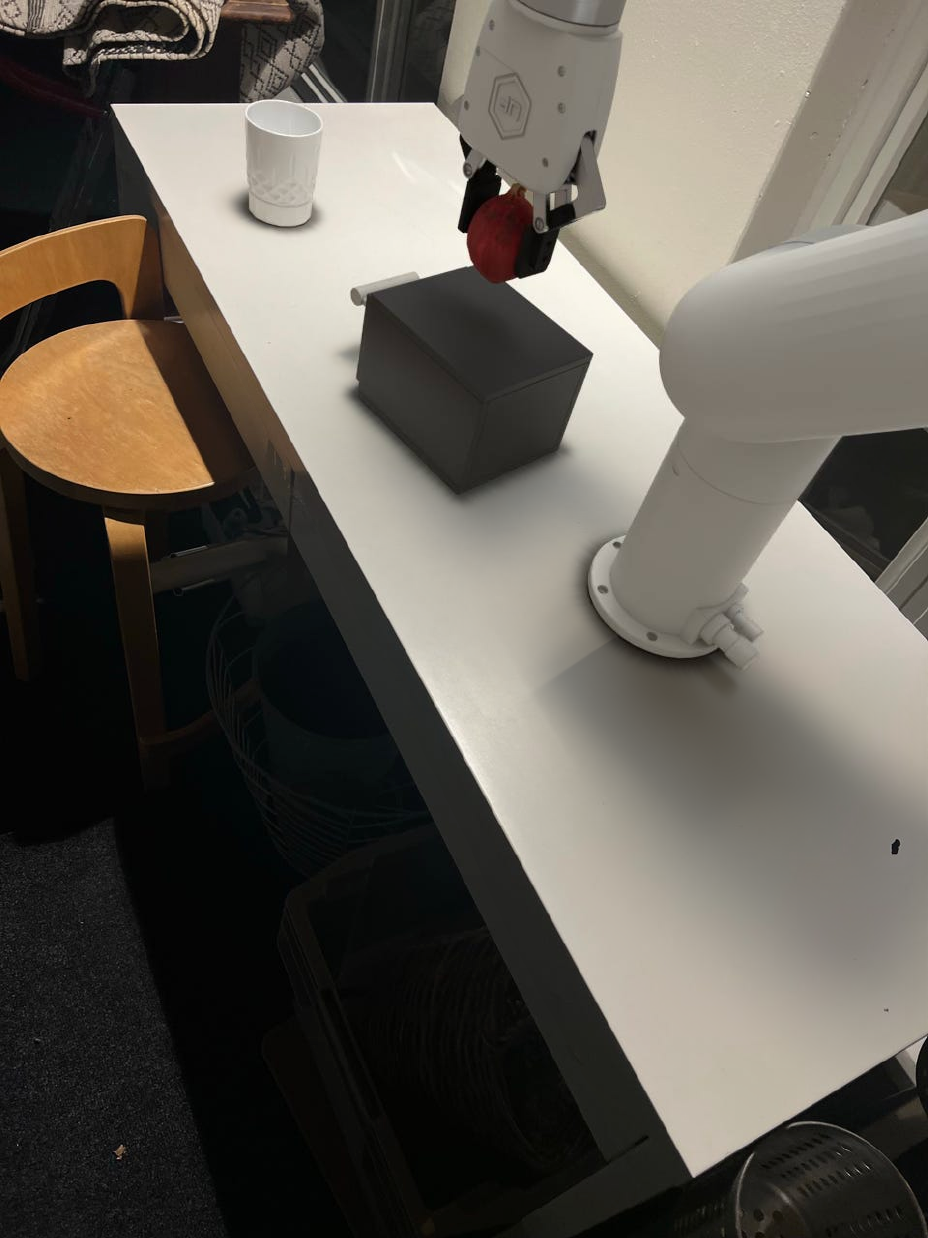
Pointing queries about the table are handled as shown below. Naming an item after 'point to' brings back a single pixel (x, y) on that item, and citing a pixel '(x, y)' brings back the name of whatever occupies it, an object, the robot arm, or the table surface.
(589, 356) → the dark grey box
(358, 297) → the drawer
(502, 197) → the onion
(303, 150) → the white cup
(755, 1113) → the table surface
